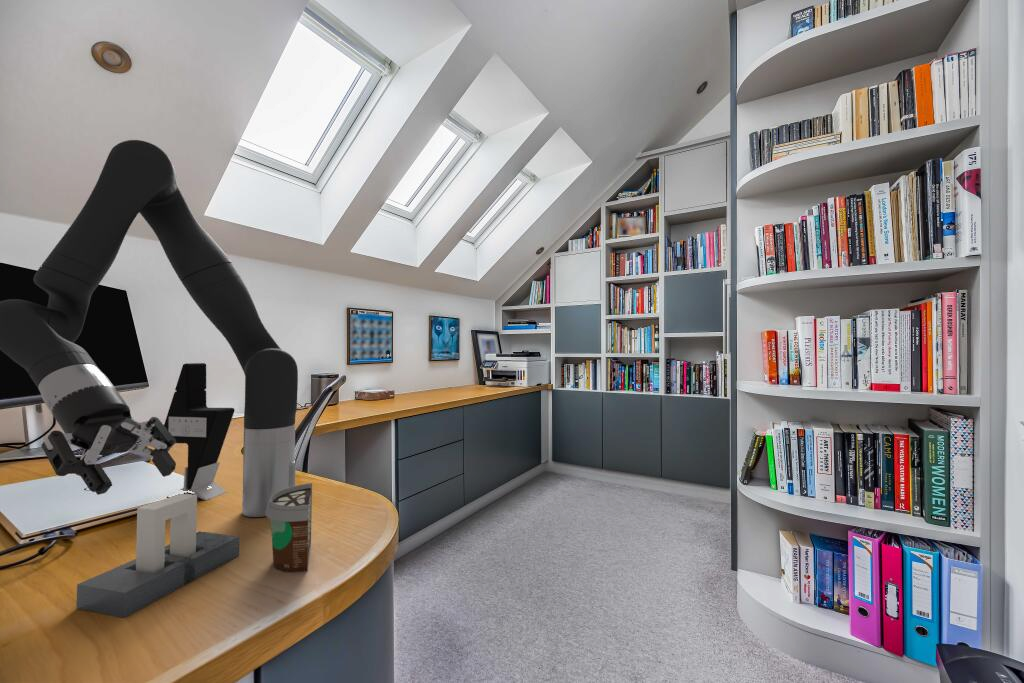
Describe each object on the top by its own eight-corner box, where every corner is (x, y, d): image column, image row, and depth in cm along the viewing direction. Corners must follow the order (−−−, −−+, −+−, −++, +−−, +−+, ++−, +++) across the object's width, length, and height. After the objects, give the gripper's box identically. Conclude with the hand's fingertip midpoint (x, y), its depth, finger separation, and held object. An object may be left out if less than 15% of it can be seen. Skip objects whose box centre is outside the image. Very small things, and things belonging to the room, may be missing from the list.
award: (155, 496, 93) (159, 363, 94) (178, 489, 98) (181, 362, 99) (214, 500, 90) (217, 363, 91) (234, 492, 96) (236, 363, 96)
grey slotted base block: (198, 549, 68) (199, 531, 68) (238, 555, 66) (239, 536, 66) (76, 608, 52) (77, 584, 52) (124, 617, 50) (124, 592, 50)
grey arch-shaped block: (179, 567, 62) (181, 493, 63) (195, 569, 62) (197, 495, 62) (135, 589, 56) (137, 507, 57) (152, 592, 56) (154, 509, 56)
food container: (270, 547, 69) (271, 486, 69) (311, 540, 71) (312, 481, 71) (257, 585, 57) (259, 512, 58) (307, 575, 60) (308, 506, 60)
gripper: (35, 387, 56) (95, 478, 53) (148, 380, 70) (201, 452, 67) (7, 425, 57) (64, 516, 54) (124, 411, 71) (175, 482, 68)
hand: (140, 480), depth 61 cm, fingers open, 8 cm apart
